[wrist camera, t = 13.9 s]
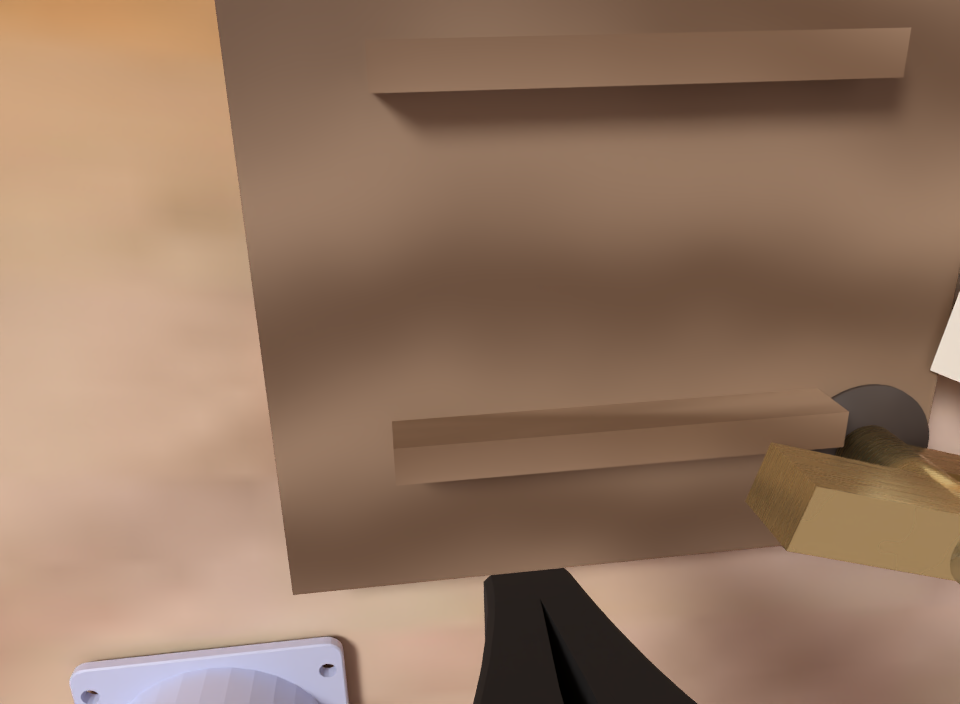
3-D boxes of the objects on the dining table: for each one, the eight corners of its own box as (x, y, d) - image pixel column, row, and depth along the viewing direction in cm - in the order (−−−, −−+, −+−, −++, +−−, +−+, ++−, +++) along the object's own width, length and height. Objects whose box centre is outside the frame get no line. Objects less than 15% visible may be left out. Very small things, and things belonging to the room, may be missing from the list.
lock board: (866, 497, 25) (939, 563, 22) (299, 551, 23) (287, 632, 20) (958, -14, 20) (1072, -27, 17) (229, -3, 18) (198, -15, 15)
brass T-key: (699, 451, 21) (784, 554, 17) (723, 391, 21) (818, 482, 16) (1049, 522, 24) (1203, 628, 19) (1079, 470, 23) (1244, 568, 19)
